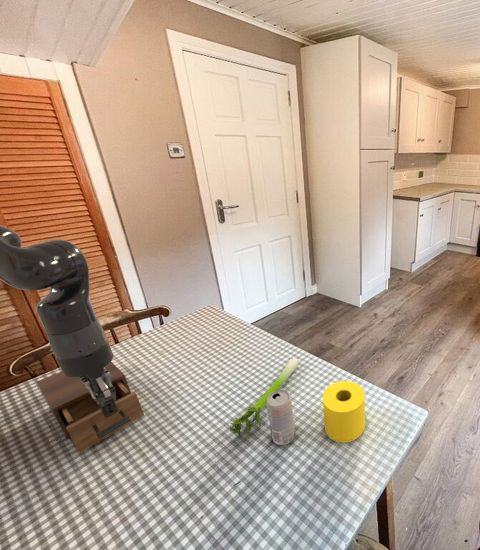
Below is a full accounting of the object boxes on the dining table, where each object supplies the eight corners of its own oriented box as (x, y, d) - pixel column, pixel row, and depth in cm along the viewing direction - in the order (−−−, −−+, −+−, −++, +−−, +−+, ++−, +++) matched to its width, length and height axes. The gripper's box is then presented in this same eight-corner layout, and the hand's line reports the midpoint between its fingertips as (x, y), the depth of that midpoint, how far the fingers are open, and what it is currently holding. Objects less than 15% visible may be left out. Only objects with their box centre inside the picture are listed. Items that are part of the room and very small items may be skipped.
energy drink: (288, 423, 76) (282, 385, 72) (299, 436, 72) (295, 397, 68) (268, 436, 73) (261, 397, 68) (279, 450, 69) (273, 411, 64)
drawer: (152, 424, 75) (144, 401, 72) (85, 465, 65) (73, 440, 62) (123, 391, 85) (115, 370, 82) (62, 422, 76) (50, 400, 73)
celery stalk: (305, 370, 97) (251, 446, 69) (285, 369, 99) (225, 444, 71) (302, 353, 95) (245, 424, 68) (282, 353, 97) (219, 422, 69)
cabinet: (134, 401, 83) (124, 375, 79) (66, 438, 72) (51, 409, 69) (114, 379, 91) (104, 354, 88) (50, 408, 81) (36, 381, 77)
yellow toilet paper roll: (317, 434, 73) (314, 404, 69) (336, 404, 82) (334, 376, 78) (355, 448, 69) (354, 417, 66) (370, 415, 78) (370, 386, 75)
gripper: (46, 343, 58) (78, 410, 65) (64, 369, 51) (99, 442, 58) (94, 326, 64) (120, 390, 71) (117, 347, 57) (144, 416, 63)
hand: (111, 413), depth 64 cm, fingers closed
